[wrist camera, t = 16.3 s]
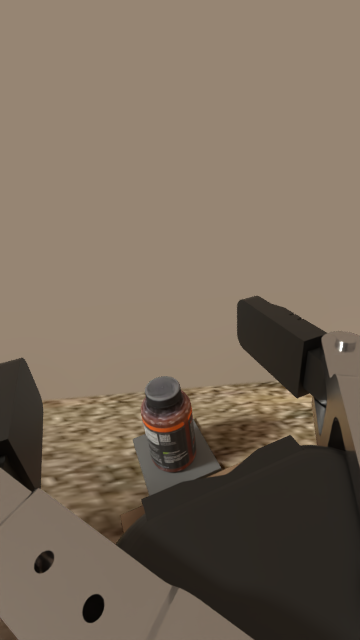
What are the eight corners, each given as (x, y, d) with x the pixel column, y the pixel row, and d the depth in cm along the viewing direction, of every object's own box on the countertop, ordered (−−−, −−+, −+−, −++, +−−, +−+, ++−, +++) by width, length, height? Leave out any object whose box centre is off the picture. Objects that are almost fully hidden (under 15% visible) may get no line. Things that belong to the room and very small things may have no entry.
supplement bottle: (184, 428, 42) (176, 364, 37) (205, 461, 37) (199, 392, 32) (144, 446, 40) (129, 381, 35) (161, 483, 35) (147, 414, 30)
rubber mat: (151, 501, 34) (150, 498, 34) (133, 441, 42) (132, 438, 41) (221, 470, 37) (221, 467, 36) (192, 419, 44) (192, 416, 44)
